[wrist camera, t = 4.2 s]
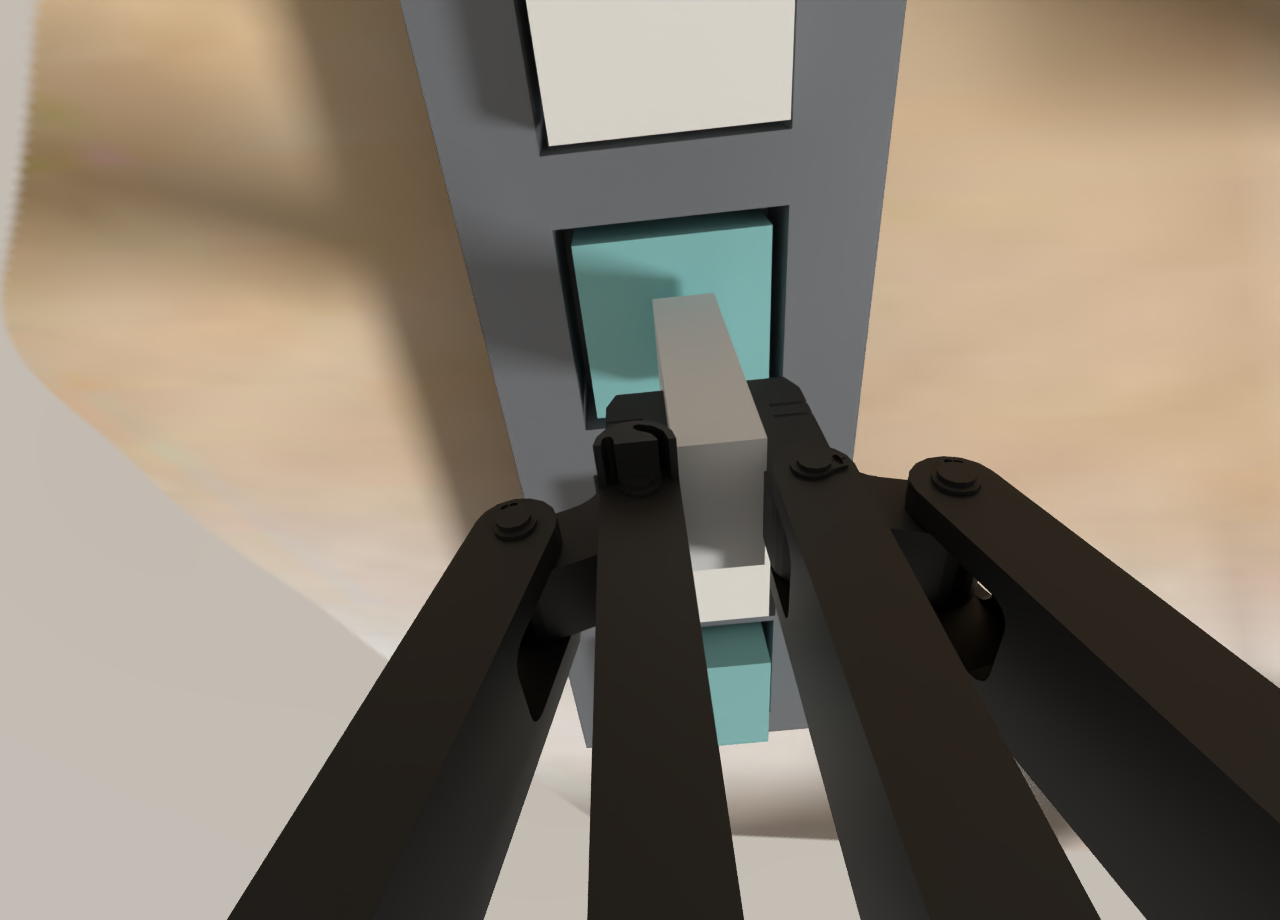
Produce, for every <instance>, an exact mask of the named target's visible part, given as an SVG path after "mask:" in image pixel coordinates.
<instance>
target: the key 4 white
mask: <svg viewBox="0 0 1280 920" xmlns="http://www.w3.org/2000/svg"><path fill="white" fill-rule="evenodd" d="M526 4H527V11H528V17H529V23H530V29H531V36H532V42H533V48H534V55H535V61H536V67H537V73H538V80H539V86H540V92H541V99H542V105H543V111H544V118H545V124H546V130H547V136H548V143H549V146H556V145H565V144H574V143H583V142H592V141H601V140H610V139H619V138H628V137H637V136H646V135H656V134H665V133H674V132H683V131H692V130H701V129H710V128H719V127H728V126H737V125H747V124H756V123H765V122H774V121H783V120H791V97H792V70H793V42H794V15H795V0H526Z"/></svg>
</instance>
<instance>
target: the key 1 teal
mask: <svg viewBox="0 0 1280 920" xmlns="http://www.w3.org/2000/svg"><path fill="white" fill-rule="evenodd" d="M701 631H702V638H703V644H704V651H705V658H706V665H707V672H708V678H709V685H710V692H711V699H712V706H713V712H714V719H715V726H716V733H717V740H718V746H721V745H732V744H743V743H754V742H765V741H768V731H769V704H770V676H771V661H770V657H769V653H768V649H767V645H766V641H765V637H764V633H763V629H762V625H761V621H760V622H749V623H739V624H728V625H717V626H707V627H701Z"/></svg>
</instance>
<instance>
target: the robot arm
mask: <svg viewBox="0 0 1280 920" xmlns="http://www.w3.org/2000/svg"><path fill="white" fill-rule="evenodd" d="M652 303H653V315H654V326H655V338H656V350H657V361H658V373H659V385H660V391H652V392H642V393H631V394H621V395H616V396H615V397H614V398H613V400H612V401H611V402H610V404H609V405H608V406H607V407H606V428H605V430H604V431H603V432H602V433H601V434H599V435H598V436H597V437H596V439H595V441H594V444H593V452H594V459H595V465H596V471H597V477H598V483H599V491H598V492H597V493H596V494H595V495H594V496H593V497H592V498H591V499H589V500H588V501H586V502H584V503H583V504H581V505H578V506H576V507H573V508H571V509H568V510H565V511H562V512H558V513H555V511H554V509H553V507H551V506H550V505H548V504H547V503H545V502H544V501H540V500H535V499H530V498H526V499H514V500H510V501H507V502H504V503H501V504H498V505H496V506H495V507H493V508H491V509H489V510H488V511H486V512H485V513H484V514H483V515H482V516H481V517H480V518H479V519H478V520H477V521H476V523H475V524H474V526H473V528H472V529H471V531H470V532H469V534H468V536H467V537H466V539H465V540H464V542H463V544H462V545H461V547H460V548H459V550H458V552H457V553H456V555H455V556H454V558H453V560H452V561H451V563H450V564H449V566H448V568H447V569H446V571H445V572H444V574H443V576H442V577H441V579H440V580H439V582H438V583H437V585H436V587H435V588H434V590H433V591H432V593H431V595H430V596H429V598H428V599H427V601H426V603H425V604H424V606H423V607H422V609H421V611H420V612H419V614H418V615H417V617H416V619H415V620H414V622H413V623H412V625H411V627H410V628H409V630H408V631H407V633H406V635H405V636H404V638H403V639H402V641H401V643H400V644H399V646H398V647H397V649H396V651H395V652H394V654H393V655H392V657H391V659H390V660H389V662H388V663H387V665H386V667H385V668H384V670H383V671H382V673H381V674H380V676H379V678H378V679H377V681H376V682H375V684H374V686H373V687H372V689H371V691H370V692H369V694H368V695H367V697H366V699H365V700H364V702H363V703H362V705H361V706H360V708H359V710H358V711H357V713H356V714H355V716H354V718H353V719H352V721H351V722H350V724H349V726H348V727H347V729H346V731H345V732H344V734H343V735H342V737H341V738H340V740H339V742H338V743H337V745H336V747H335V748H334V750H333V751H332V753H331V754H330V756H329V757H328V759H327V761H326V762H325V764H324V766H323V767H322V769H321V770H320V772H319V774H318V775H317V777H316V778H315V780H314V781H313V783H312V785H311V786H310V788H309V790H308V791H307V793H306V794H305V796H304V798H303V799H302V801H301V802H300V804H299V805H298V807H297V809H296V811H295V812H294V813H293V815H292V817H291V818H290V820H289V821H288V823H287V825H286V826H285V828H284V829H283V831H282V833H281V834H280V836H279V837H278V839H277V840H276V842H275V844H274V845H273V847H272V848H271V850H270V852H269V853H268V855H267V857H266V858H265V860H264V861H263V863H262V865H261V866H260V868H259V869H258V871H257V872H256V874H255V876H254V877H253V879H252V880H251V882H250V884H249V885H248V887H247V888H246V890H245V892H244V893H243V895H242V896H241V898H240V900H239V901H238V903H237V904H236V906H235V908H234V909H233V911H232V912H231V914H230V916H229V917H228V919H227V920H483V919H484V917H485V914H486V911H487V908H488V905H489V902H490V899H491V897H492V893H493V891H494V888H495V885H496V882H497V879H498V876H499V874H500V870H501V868H502V864H503V862H504V859H505V856H506V853H507V851H508V848H509V845H510V842H511V839H512V836H513V833H514V830H515V827H516V825H517V822H518V819H519V816H520V813H521V810H522V807H523V804H524V801H525V799H526V796H527V793H528V790H529V787H530V784H531V781H532V778H533V776H534V773H535V770H536V767H537V764H538V761H539V758H540V755H541V753H542V750H543V747H544V744H545V741H546V738H547V735H548V732H549V729H550V727H551V724H552V721H553V718H554V715H555V712H556V709H557V706H558V704H559V701H560V698H561V695H562V692H563V689H564V686H565V683H566V681H567V678H568V675H569V672H570V669H571V666H572V663H573V660H574V657H575V655H576V652H577V649H578V646H579V643H580V638H581V632H582V631H584V630H587V629H590V628H593V627H595V626H596V627H595V663H594V699H593V736H592V772H591V808H590V846H589V881H588V917H587V920H744V916H743V910H742V903H741V896H740V889H739V883H738V876H737V870H736V862H735V855H734V848H733V842H732V835H731V828H730V821H729V814H728V808H727V801H726V794H725V787H724V780H723V774H722V767H721V760H720V753H719V746H718V740H717V733H716V726H715V719H714V712H713V706H712V699H711V692H710V685H709V678H708V672H707V665H706V658H705V651H704V644H703V638H702V631H701V624H700V617H699V610H698V604H697V597H696V590H695V583H694V576H693V571H700V570H711V569H722V568H733V567H744V566H755V565H765V546H766V550H767V553H768V557H769V560H770V589H769V616H775V610H777V614H778V618H779V621H780V625H781V629H782V632H783V636H784V640H785V643H786V647H787V651H788V654H789V658H790V662H791V665H792V669H793V673H794V676H795V680H796V684H797V687H798V691H799V695H800V698H801V702H802V706H803V709H804V713H805V717H806V721H807V724H808V728H809V732H810V735H811V739H812V743H813V746H814V750H815V754H816V757H817V761H818V765H819V768H820V772H821V776H822V779H823V783H824V787H825V790H826V794H827V798H828V801H829V805H830V809H831V812H832V816H833V820H834V823H835V827H836V831H837V834H838V838H839V842H840V845H841V849H842V852H843V856H844V860H845V864H846V867H847V871H848V875H849V878H850V882H851V886H852V889H853V893H854V897H855V900H856V904H857V908H858V911H859V915H860V919H861V920H1101V919H1100V917H1099V915H1098V913H1097V911H1096V910H1095V908H1094V906H1093V904H1092V902H1091V900H1090V899H1089V897H1088V895H1087V893H1086V891H1085V889H1084V887H1083V886H1082V884H1081V882H1080V880H1079V878H1078V876H1077V874H1076V873H1075V871H1074V869H1073V867H1072V865H1071V863H1070V862H1069V860H1068V858H1067V856H1066V854H1065V852H1064V850H1063V849H1062V847H1061V845H1060V843H1059V841H1058V839H1057V837H1056V836H1055V834H1054V832H1053V830H1052V828H1051V826H1050V824H1049V823H1048V821H1047V819H1046V817H1045V815H1044V813H1043V811H1042V810H1041V808H1040V806H1039V804H1038V802H1037V800H1036V799H1035V797H1034V795H1033V793H1032V791H1031V789H1030V787H1029V786H1028V784H1027V782H1026V780H1025V778H1024V776H1023V774H1022V773H1021V771H1020V769H1019V767H1018V765H1017V763H1016V761H1017V762H1018V763H1019V764H1020V765H1021V767H1022V768H1023V769H1024V770H1025V772H1026V773H1027V774H1028V775H1029V776H1030V778H1031V779H1032V780H1033V781H1034V783H1035V784H1036V785H1037V786H1038V787H1039V789H1040V790H1041V791H1042V792H1043V794H1044V795H1045V796H1046V797H1047V798H1048V800H1049V801H1050V802H1051V803H1052V805H1053V806H1054V807H1055V808H1056V809H1057V811H1058V812H1059V813H1060V814H1061V816H1062V817H1063V818H1064V819H1065V820H1066V822H1067V823H1068V824H1069V825H1070V826H1071V828H1072V829H1073V830H1074V831H1075V833H1076V834H1077V835H1078V836H1079V837H1080V839H1081V840H1082V841H1083V842H1084V844H1085V845H1086V846H1087V847H1088V848H1089V850H1090V851H1091V852H1092V853H1093V855H1095V857H1096V858H1097V859H1098V861H1099V862H1100V863H1101V864H1102V866H1103V867H1104V868H1105V869H1106V870H1107V872H1108V873H1109V874H1110V875H1111V877H1112V878H1113V879H1114V880H1115V881H1116V882H1117V884H1118V885H1119V886H1120V888H1121V889H1122V890H1123V891H1124V892H1125V894H1126V895H1127V896H1128V897H1129V898H1130V900H1131V901H1132V902H1133V903H1134V905H1135V906H1136V907H1137V908H1138V909H1139V911H1140V912H1141V913H1142V914H1143V916H1144V917H1145V918H1146V919H1147V920H1280V688H1278V687H1277V686H1276V685H1274V684H1273V683H1272V682H1270V681H1269V680H1268V679H1266V678H1265V677H1264V676H1263V675H1261V674H1260V673H1259V672H1257V671H1256V670H1255V669H1253V668H1252V667H1251V666H1249V665H1248V664H1247V663H1245V662H1244V661H1243V660H1241V659H1240V658H1239V657H1237V656H1236V655H1235V654H1234V653H1232V652H1231V651H1230V650H1228V649H1227V648H1226V647H1224V646H1223V645H1222V644H1220V643H1219V642H1218V641H1216V640H1215V639H1214V638H1212V637H1211V636H1210V635H1208V634H1207V633H1206V632H1204V631H1203V630H1202V629H1201V628H1199V627H1198V626H1197V625H1195V624H1194V623H1193V622H1191V621H1190V620H1189V619H1187V618H1186V617H1185V616H1183V615H1182V614H1181V613H1179V612H1178V611H1177V610H1175V609H1174V608H1173V607H1172V606H1170V605H1169V604H1168V603H1166V602H1165V601H1164V600H1162V599H1161V598H1160V597H1158V596H1157V595H1156V594H1154V593H1153V592H1152V591H1150V590H1149V589H1148V588H1146V587H1145V586H1144V585H1142V584H1141V583H1140V582H1139V581H1137V580H1136V579H1135V578H1133V577H1132V576H1131V575H1129V574H1128V573H1127V572H1125V571H1124V570H1123V569H1121V568H1120V567H1119V566H1117V565H1116V564H1115V563H1113V562H1112V561H1111V560H1110V559H1108V558H1107V557H1106V556H1104V555H1103V554H1102V553H1100V552H1099V551H1098V550H1096V549H1095V548H1094V547H1092V546H1091V545H1090V544H1088V543H1087V542H1086V541H1084V540H1083V539H1082V538H1080V537H1079V536H1078V535H1077V534H1075V533H1074V532H1073V531H1071V530H1070V529H1069V528H1067V527H1066V526H1065V525H1063V524H1062V523H1061V522H1059V521H1058V520H1057V519H1055V518H1054V517H1053V516H1051V515H1050V514H1049V513H1048V512H1046V511H1045V510H1044V509H1042V508H1041V507H1040V506H1038V505H1037V504H1036V503H1034V502H1033V501H1032V500H1030V499H1029V498H1028V497H1026V496H1025V495H1024V494H1022V493H1021V492H1020V491H1018V490H1017V489H1016V488H1015V487H1013V486H1012V485H1011V484H1009V483H1008V482H1007V481H1005V480H1004V479H1003V478H1001V477H1000V476H999V475H997V474H996V473H995V472H993V471H992V470H990V469H988V468H987V467H985V466H983V465H981V464H979V463H977V462H973V461H970V460H967V459H963V458H958V457H946V456H942V457H934V458H927V459H925V460H923V461H920V462H918V463H916V464H915V465H914V466H913V468H912V469H911V470H910V471H909V477H908V480H903V479H893V478H884V477H877V476H871V475H866V474H863V473H860V472H859V471H858V469H857V467H856V465H855V463H854V462H853V461H852V460H851V459H850V458H849V457H848V456H847V455H846V454H844V453H842V452H840V451H838V450H836V449H834V448H830V446H829V444H828V442H827V440H826V438H825V436H824V434H823V432H822V430H821V428H820V426H819V424H818V423H817V421H816V419H815V417H814V415H813V414H812V411H811V409H810V407H809V405H808V403H806V399H805V397H804V395H803V393H802V391H801V389H800V387H798V386H797V385H795V384H794V383H792V382H791V381H789V380H788V379H786V378H785V377H775V378H765V379H755V380H746V379H745V376H744V373H743V371H742V368H741V365H740V363H739V360H738V357H737V354H736V352H735V349H734V346H733V344H732V341H731V338H730V335H729V333H728V330H727V327H726V325H725V322H724V319H723V316H722V314H721V311H720V308H719V306H718V303H717V300H716V297H715V295H714V293H707V294H697V295H688V296H678V297H668V298H658V299H652ZM978 581H979V582H980V583H981V584H982V585H983V586H984V587H985V588H986V589H987V590H988V591H989V592H990V593H991V594H992V595H991V594H989V593H988V592H987V591H985V590H984V589H983V588H982V587H981V586H980V585H979V584H978V583H977V582H978ZM1013 757H1014V758H1015V759H1016V761H1015V760H1014V758H1013Z"/></svg>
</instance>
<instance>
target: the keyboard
mask: <svg viewBox="0 0 1280 920" xmlns="http://www.w3.org/2000/svg"><path fill="white" fill-rule="evenodd" d="M906 1H907V0H795V15H794V42H793V70H792V97H791V120H783V121H774V122H765V123H756V124H747V125H737V126H728V127H719V128H710V129H701V130H692V131H683V132H674V133H665V134H656V135H646V136H637V137H628V138H619V139H610V140H601V141H592V142H583V143H574V144H565V145H556V146H549V143H548V136H547V130H546V124H545V118H544V111H543V105H542V99H541V92H540V86H539V80H538V73H537V67H536V61H535V55H534V48H533V42H532V36H531V29H530V23H529V17H528V11H527V4H526V0H400V4H401V8H402V12H403V16H404V20H405V24H406V28H407V32H408V36H409V40H410V44H411V48H412V52H413V56H414V60H415V64H416V68H417V72H418V76H419V80H420V84H421V88H422V92H423V96H424V100H425V104H426V108H427V112H428V116H429V120H430V124H431V128H432V132H433V136H434V140H435V144H436V148H437V152H438V156H439V160H440V164H441V168H442V172H443V176H444V180H445V184H446V188H447V192H448V196H449V200H450V204H451V208H452V212H453V216H454V220H455V224H456V228H457V232H458V236H459V240H460V244H461V248H462V252H463V256H464V260H465V264H466V268H467V272H468V276H469V280H470V284H471V288H472V292H473V296H474V300H475V304H476V308H477V312H478V316H479V320H480V324H481V328H482V332H483V336H484V340H485V344H486V348H487V352H488V356H489V360H490V364H491V368H492V372H493V376H494V380H495V384H496V387H497V391H498V395H499V399H500V403H501V407H502V411H503V415H504V419H505V423H506V427H507V431H508V435H509V439H510V443H511V447H512V451H513V455H514V459H515V463H516V467H517V471H518V475H519V479H520V483H521V487H522V491H523V495H524V499H526V498H530V499H535V500H540V501H544V502H545V503H547V504H548V505H550V506H551V507H553V509H554V511H555V513H558V512H562V511H565V510H568V509H571V508H573V507H576V506H578V505H581V504H583V503H584V502H586V501H588V500H589V499H591V498H592V497H593V496H594V495H595V494H596V493H597V492H598V491H599V483H598V477H597V471H596V465H595V459H594V452H593V444H594V441H595V439H596V437H597V436H598V435H599V434H601V433H602V432H603V431H604V430H605V428H606V418H597V411H596V405H595V398H594V392H593V385H592V379H591V372H590V366H589V359H588V352H587V346H586V339H585V333H584V326H583V320H582V313H581V307H580V300H579V294H578V287H577V281H576V274H575V268H574V261H573V255H572V248H571V245H572V239H573V233H574V228H579V227H588V226H598V225H607V224H616V223H626V222H635V221H644V220H654V219H663V218H672V217H682V216H691V215H700V214H710V213H719V212H728V211H738V210H747V209H756V208H760V210H761V211H762V212H763V213H764V215H765V216H766V217H767V219H768V220H769V221H770V222H771V224H772V225H773V226H772V268H771V310H770V352H769V378H775V377H785V378H786V379H788V380H789V381H791V382H792V383H794V384H795V385H797V386H798V387H800V389H801V391H802V393H803V395H804V397H805V399H806V403H808V405H809V407H810V409H811V411H812V414H813V415H814V417H815V419H816V421H817V423H818V424H819V426H820V428H821V430H822V432H823V434H824V436H825V438H826V440H827V442H828V444H829V446H830V448H834V449H836V450H838V451H840V452H842V453H844V454H846V455H847V456H848V457H849V458H850V459H851V460H852V461H853V453H854V445H855V436H856V428H857V419H858V411H859V402H860V394H861V385H862V377H863V368H864V360H865V351H866V343H867V334H868V325H869V317H870V308H871V300H872V291H873V283H874V274H875V266H876V257H877V249H878V240H879V232H880V223H881V215H882V206H883V197H884V189H885V180H886V172H887V163H888V155H889V146H890V138H891V129H892V121H893V112H894V104H895V95H896V86H897V78H898V69H899V61H900V52H901V44H902V35H903V27H904V18H905V10H906ZM760 621H761V625H762V629H763V633H764V637H765V641H766V645H767V649H768V653H769V657H770V661H771V676H770V704H769V731H768V732H771V731H782V730H793V729H804V728H808V724H807V721H806V717H805V713H804V709H803V706H802V702H801V698H800V695H799V691H798V687H797V684H796V680H795V676H794V673H793V669H792V665H791V662H790V658H789V654H788V651H787V647H786V643H785V640H784V636H783V632H782V629H781V625H780V621H779V618H778V614H777V610H775V616H763V617H752V618H742V619H731V620H720V621H710V622H700V624H701V627H707V626H717V625H728V624H739V623H749V622H760ZM595 627H596V626H595ZM595 627H593V628H590V629H587V630H584V631H582V632H581V638H580V643H579V646H578V649H577V652H576V655H575V657H574V660H573V663H572V666H571V669H570V672H569V679H570V683H571V687H572V691H573V695H574V699H575V703H576V707H577V711H578V715H579V719H580V723H581V727H582V731H583V735H584V739H585V743H586V747H587V748H592V736H593V699H594V663H595Z"/></svg>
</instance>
